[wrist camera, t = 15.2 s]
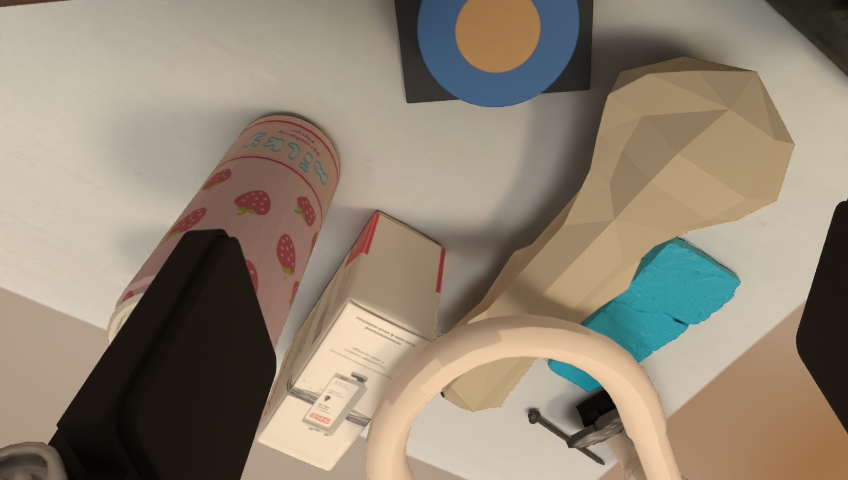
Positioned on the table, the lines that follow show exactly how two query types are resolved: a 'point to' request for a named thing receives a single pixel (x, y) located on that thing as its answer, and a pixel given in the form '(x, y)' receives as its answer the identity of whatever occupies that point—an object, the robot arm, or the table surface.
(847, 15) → the model
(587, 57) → the mat
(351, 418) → the ink box
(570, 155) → the table surface
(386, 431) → the faucet
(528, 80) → the tape
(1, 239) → the table surface
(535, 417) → the screw
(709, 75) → the faceted club
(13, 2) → the tall wooden box
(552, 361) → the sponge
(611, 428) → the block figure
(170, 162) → the table surface
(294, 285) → the beverage can
